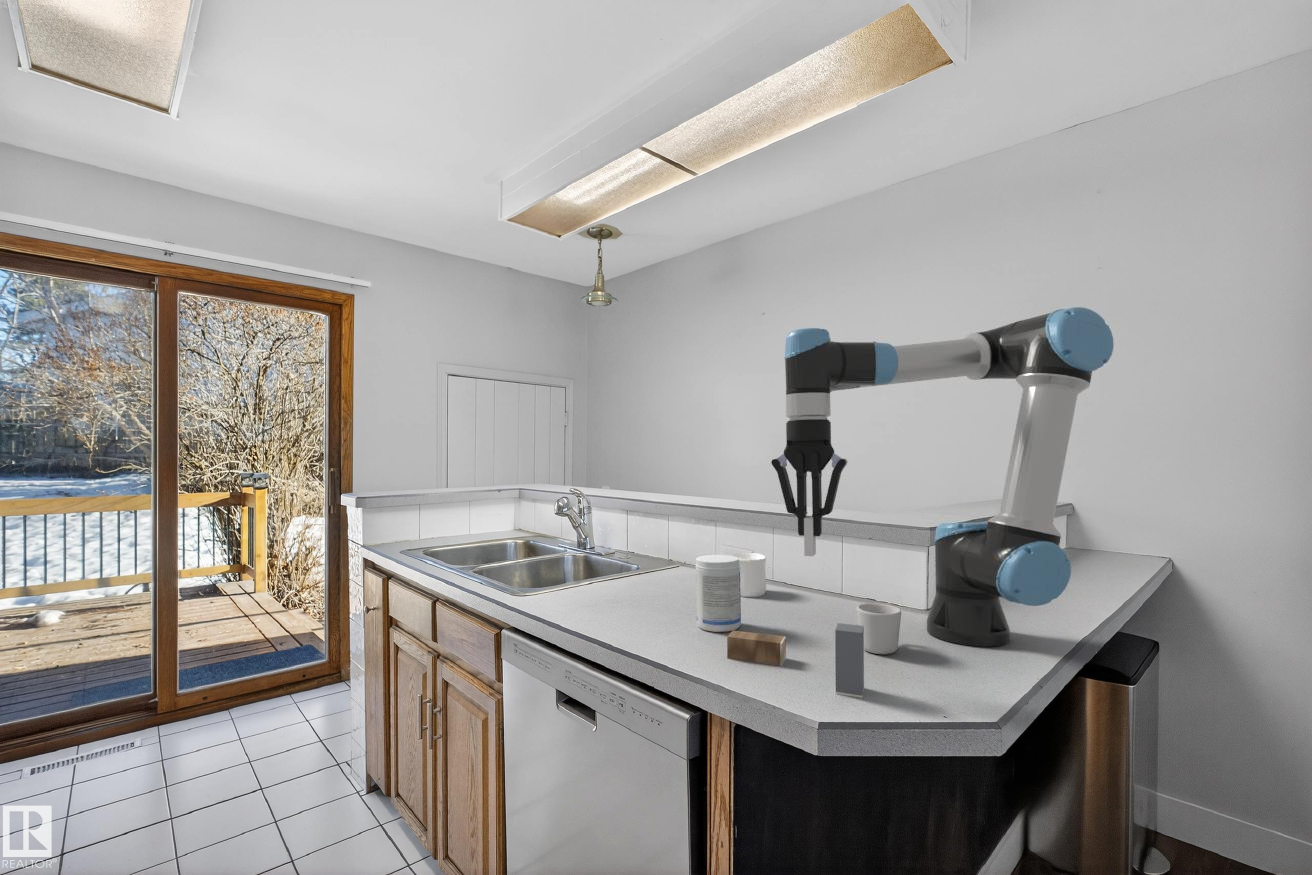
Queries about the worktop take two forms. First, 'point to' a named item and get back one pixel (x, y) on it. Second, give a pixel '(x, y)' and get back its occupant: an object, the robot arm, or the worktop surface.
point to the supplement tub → (718, 593)
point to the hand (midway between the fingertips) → (810, 554)
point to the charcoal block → (849, 659)
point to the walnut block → (756, 647)
